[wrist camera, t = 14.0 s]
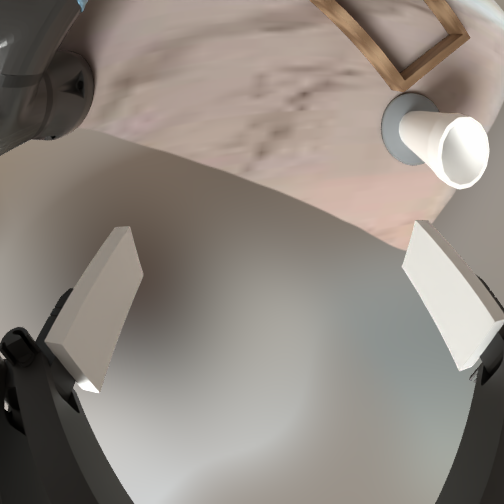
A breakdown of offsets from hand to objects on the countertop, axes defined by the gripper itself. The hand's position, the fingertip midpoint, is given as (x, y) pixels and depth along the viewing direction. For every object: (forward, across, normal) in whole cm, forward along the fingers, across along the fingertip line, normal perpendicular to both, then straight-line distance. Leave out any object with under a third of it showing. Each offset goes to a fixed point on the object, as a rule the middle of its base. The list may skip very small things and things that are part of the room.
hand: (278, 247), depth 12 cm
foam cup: (+30, +25, +2) cm, 39 cm away
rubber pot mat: (+30, +25, +2) cm, 39 cm away
